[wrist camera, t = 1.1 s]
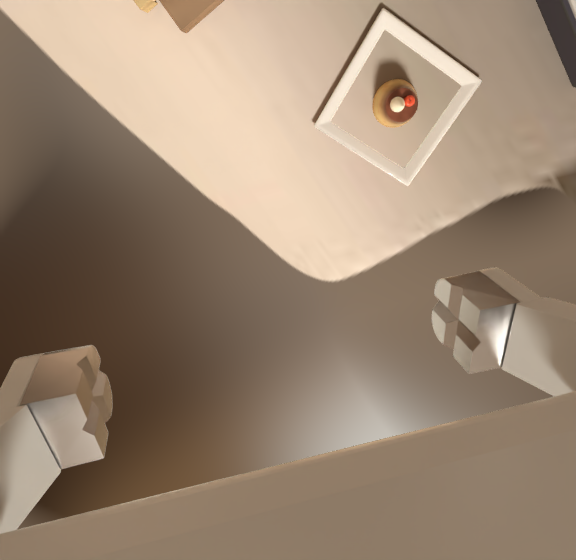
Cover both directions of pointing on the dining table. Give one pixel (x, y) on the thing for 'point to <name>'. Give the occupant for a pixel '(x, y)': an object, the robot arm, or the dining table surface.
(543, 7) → the red and white box
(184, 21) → the board
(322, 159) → the dining table surface
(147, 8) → the stacked wooden blocks
